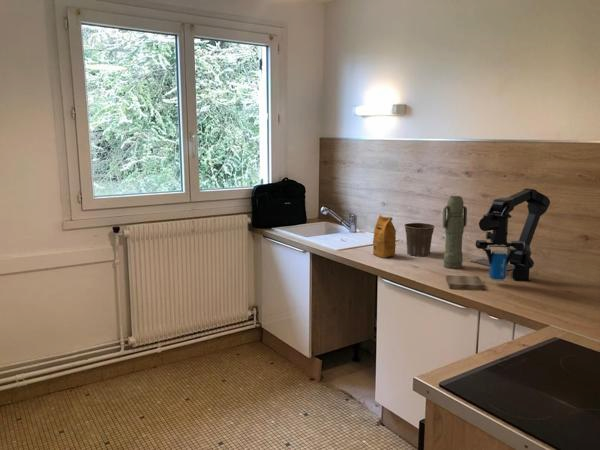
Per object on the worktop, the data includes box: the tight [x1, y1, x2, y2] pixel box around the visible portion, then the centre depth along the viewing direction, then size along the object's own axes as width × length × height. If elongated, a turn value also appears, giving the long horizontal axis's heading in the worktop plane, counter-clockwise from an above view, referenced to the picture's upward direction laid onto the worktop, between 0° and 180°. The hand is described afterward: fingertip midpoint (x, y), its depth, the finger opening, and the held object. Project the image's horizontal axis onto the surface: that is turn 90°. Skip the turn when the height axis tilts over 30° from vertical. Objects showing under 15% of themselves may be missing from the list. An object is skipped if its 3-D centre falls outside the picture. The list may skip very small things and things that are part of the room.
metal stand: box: [445, 274, 485, 291], centre depth 217 cm, size 14×14×2 cm
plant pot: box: [404, 222, 436, 257], centre depth 274 cm, size 16×16×16 cm
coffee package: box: [372, 214, 397, 259], centre depth 271 cm, size 10×12×22 cm
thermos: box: [442, 195, 468, 270], centre depth 245 cm, size 9×12×35 cm
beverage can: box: [489, 250, 507, 282], centre depth 215 cm, size 6×6×12 cm
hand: (498, 264), depth 215 cm, fingers closed on beverage can, 6 cm apart
